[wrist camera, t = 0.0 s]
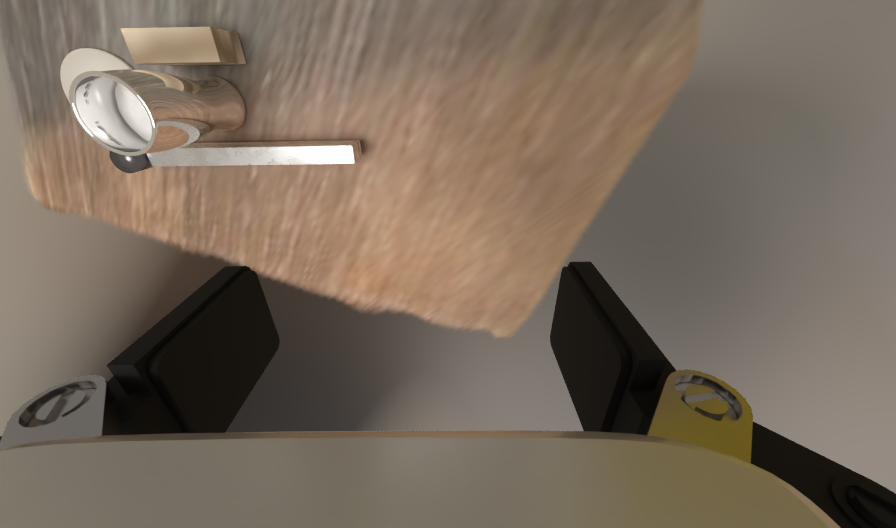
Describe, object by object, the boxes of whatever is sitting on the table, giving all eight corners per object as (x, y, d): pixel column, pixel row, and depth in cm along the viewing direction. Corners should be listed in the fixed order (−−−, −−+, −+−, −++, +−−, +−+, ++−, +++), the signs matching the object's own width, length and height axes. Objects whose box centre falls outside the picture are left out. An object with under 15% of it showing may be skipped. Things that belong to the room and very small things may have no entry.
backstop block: (158, 34, 37) (120, 28, 33) (237, 33, 37) (209, 26, 33) (170, 65, 39) (134, 63, 34) (246, 64, 39) (220, 62, 34)
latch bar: (140, 139, 41) (104, 146, 37) (359, 135, 41) (348, 142, 37) (151, 163, 43) (117, 173, 38) (362, 160, 43) (352, 169, 38)
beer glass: (226, 62, 39) (112, 53, 25) (261, 123, 42) (175, 143, 29) (178, 84, 40) (45, 87, 27) (215, 142, 43) (113, 169, 30)
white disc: (47, 49, 38) (41, 48, 37) (133, 47, 38) (128, 47, 37) (94, 140, 43) (89, 141, 42) (170, 139, 43) (166, 140, 42)
